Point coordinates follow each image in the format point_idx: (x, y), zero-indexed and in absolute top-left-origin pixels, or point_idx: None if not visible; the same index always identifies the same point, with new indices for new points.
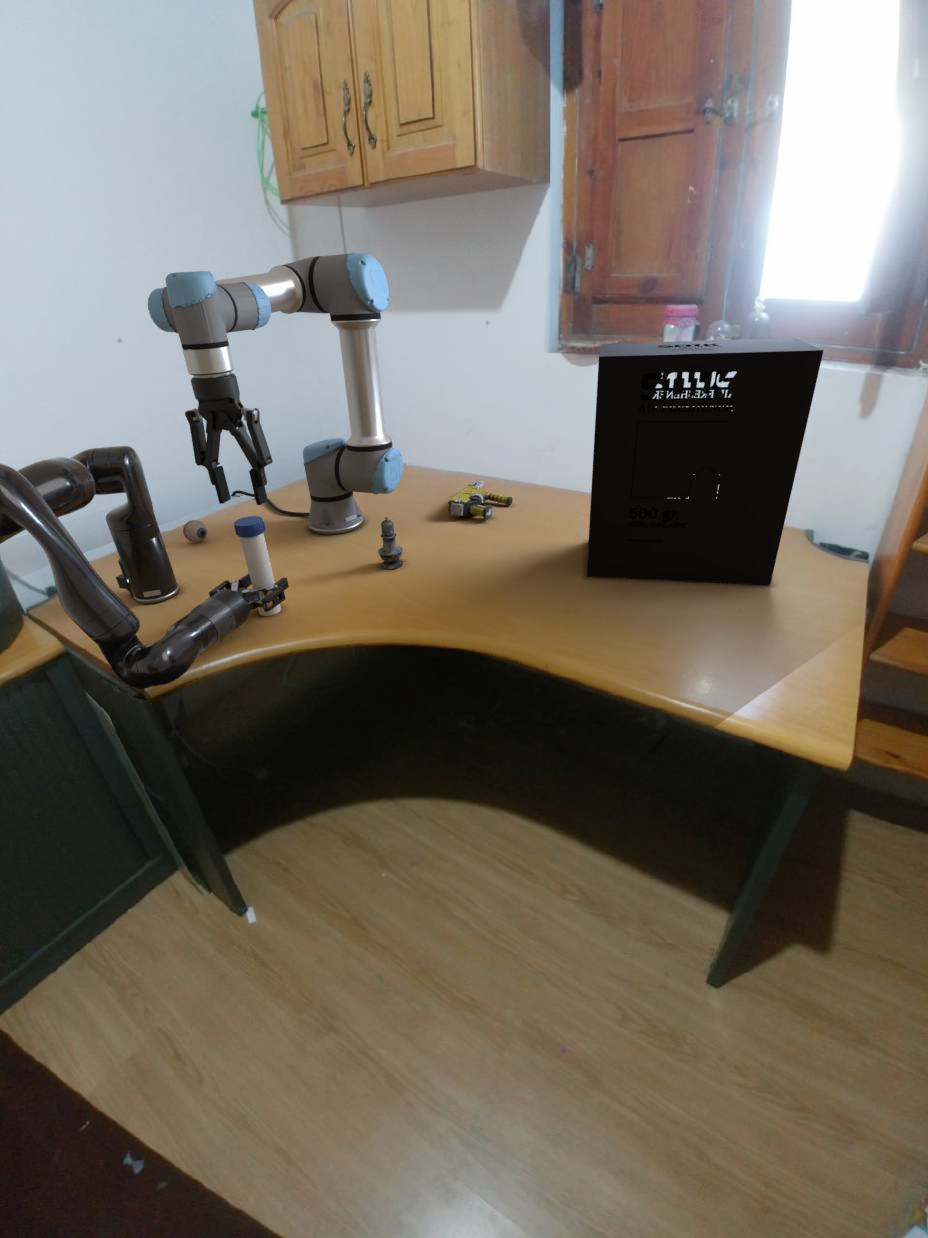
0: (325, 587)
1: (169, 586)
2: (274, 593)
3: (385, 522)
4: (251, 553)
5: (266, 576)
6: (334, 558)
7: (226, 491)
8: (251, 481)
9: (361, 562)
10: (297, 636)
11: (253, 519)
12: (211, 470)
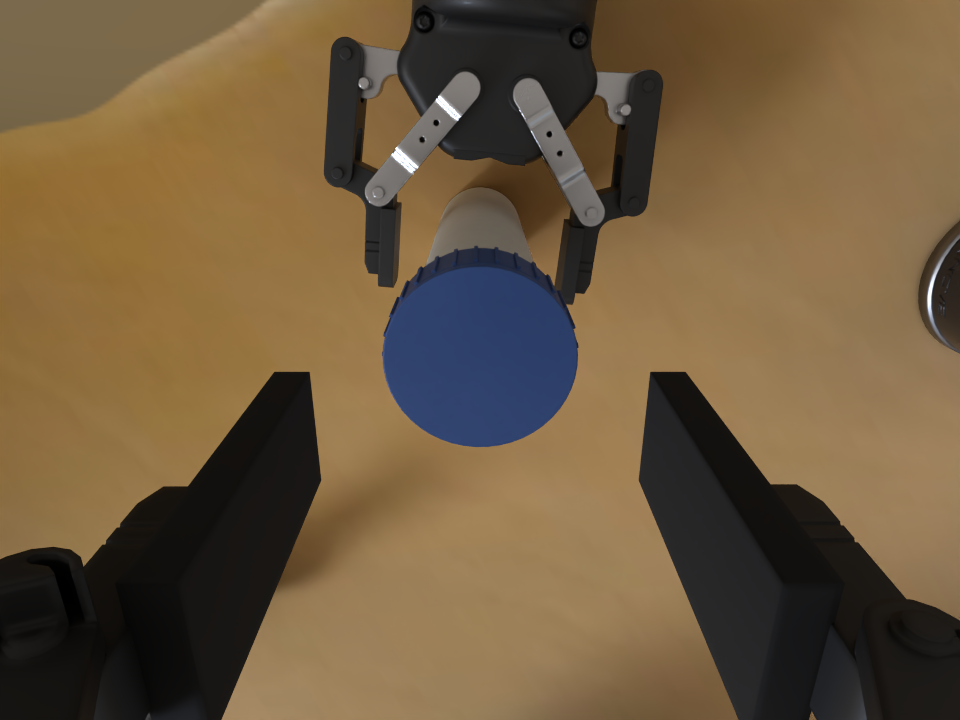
0: (368, 417)
1: (956, 280)
2: (334, 120)
3: (149, 715)
4: (466, 240)
5: (435, 238)
6: (447, 605)
7: (662, 495)
8: (234, 490)
9: (338, 590)
10: (270, 61)
11: (457, 389)
12: (829, 578)
